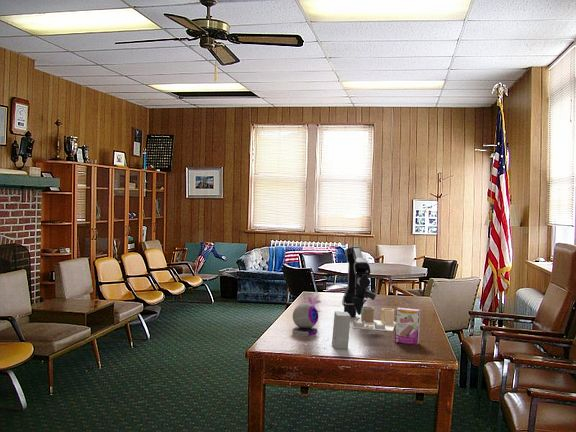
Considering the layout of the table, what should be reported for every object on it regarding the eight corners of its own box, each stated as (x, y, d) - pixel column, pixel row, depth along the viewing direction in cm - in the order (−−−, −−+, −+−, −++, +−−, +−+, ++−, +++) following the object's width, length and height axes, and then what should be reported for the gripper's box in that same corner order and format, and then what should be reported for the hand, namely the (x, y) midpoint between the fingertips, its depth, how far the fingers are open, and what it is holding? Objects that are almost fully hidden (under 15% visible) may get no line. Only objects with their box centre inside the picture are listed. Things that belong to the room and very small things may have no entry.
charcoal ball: (363, 315, 328) (363, 310, 326) (364, 310, 332) (364, 305, 329) (370, 316, 327) (370, 311, 325) (371, 311, 331) (371, 306, 328)
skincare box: (331, 344, 278) (332, 310, 277) (346, 344, 278) (347, 311, 278) (334, 349, 269) (335, 314, 269) (349, 349, 270) (351, 314, 269)
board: (352, 328, 313) (353, 313, 313) (358, 319, 334) (359, 305, 334) (392, 331, 308) (393, 316, 308) (396, 323, 329) (396, 308, 329)
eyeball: (309, 337, 291) (310, 306, 290) (287, 333, 298) (288, 303, 297) (322, 332, 302) (322, 303, 301) (300, 328, 309) (301, 300, 308)
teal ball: (355, 314, 313) (355, 307, 313) (356, 313, 317) (356, 305, 317) (362, 315, 312) (363, 307, 312) (363, 313, 316) (364, 306, 316)
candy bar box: (394, 342, 284) (395, 309, 284) (396, 340, 289) (397, 307, 288) (418, 345, 281) (419, 311, 280) (419, 343, 285) (420, 309, 285)
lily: (324, 311, 360) (320, 297, 364) (321, 307, 349) (317, 292, 353) (305, 317, 361) (301, 302, 365) (301, 312, 350) (298, 297, 354)
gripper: (373, 288, 303) (372, 318, 304) (377, 283, 321) (376, 312, 322) (352, 287, 306) (351, 317, 307) (357, 282, 324) (356, 310, 325)
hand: (359, 314), depth 315 cm, fingers closed on teal ball, 4 cm apart
